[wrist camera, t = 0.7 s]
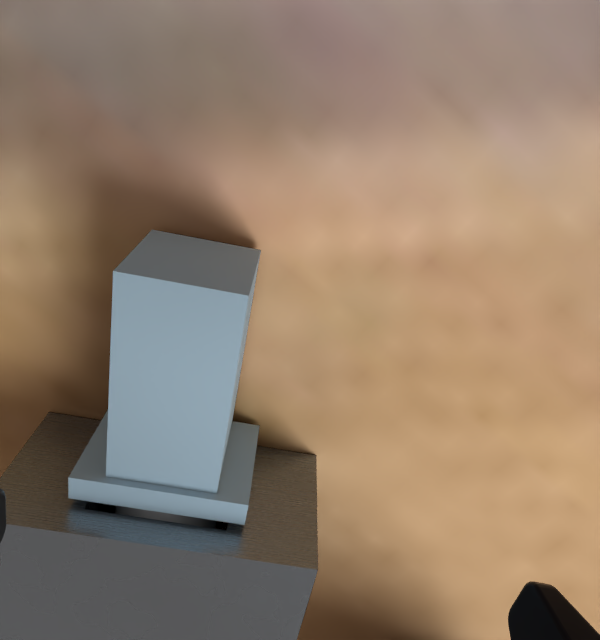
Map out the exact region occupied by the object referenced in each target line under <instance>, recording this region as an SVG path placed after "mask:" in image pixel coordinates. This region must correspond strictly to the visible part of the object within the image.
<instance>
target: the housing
mask: <svg viewBox="0 0 600 640" xmlns="http://www.w3.org/2000/svg"><path fill="white" fill-rule="evenodd" d="M100 422H101V420H95V419H88V418H82V417H76V416H70V415H64V414H58V413H51V412H49V413H48V414H47V416H46V417H45V418H44V420H43V421H42V422H41V424H40V425H39V426H38V428H37V429H36V430H35V432H34V433H33V434H32V436H31V437H30V439H29V440H28V441H27V443H26V444H25V445H24V447H23V448H22V449H21V451H20V452H19V453H18V455H17V456H16V457H15V459H14V460H13V461H12V463H11V464H10V465H9V467H8V468H7V469H6V471H5V472H4V473H3V475H2V476H1V478H0V489H3V491H4V492H5V496H6V530H5V533H4V536H3V539H2V541H1V543H0V640H297V637H298V634H299V630H300V627H301V624H302V621H303V617H304V614H305V611H306V607H307V604H308V601H309V597H310V594H311V591H312V588H313V584H314V581H315V578H316V574H317V571H318V545H317V481H316V455H310V454H304V453H298V452H292V451H286V450H279V449H273V448H267V447H261V446H257V448H256V455H255V462H254V469H253V476H252V484H251V491H250V498H249V505H248V510H247V515H246V520H245V525H241V524H235V523H228V525H227V530H220V529H214V528H207V527H200V526H194V525H187V524H181V523H174V522H167V521H161V520H154V519H147V518H141V517H134V516H127V515H121V514H115V507H116V505H109V504H103V503H96V502H90V501H83V500H76V499H70V498H68V477H69V475H70V474H71V472H72V470H73V469H74V467H75V465H76V463H77V462H78V460H79V458H80V457H81V455H82V453H83V451H84V450H85V448H86V446H87V444H88V443H89V441H90V439H91V438H92V436H93V434H94V432H95V431H96V429H97V427H98V426H99V424H100Z"/></svg>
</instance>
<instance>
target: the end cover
mask: <svg viewBox="0 0 600 640" xmlns="http://www.w3.org/2000/svg"><path fill="white" fill-rule="evenodd" d="M260 252H261V250H258V249H253V248H247V247H242V246H237V245H231V244H226V243H221V242H215V241H210V240H205V239H199V238H194V237H189V236H183V235H178V234H173V233H168V232H162V231H157V230H151V231H150V232H149V233H148V234H147V236H146V237H145V238H144V239H143V240H142V241H141V242H140V243H139V244H138V245H137V246H136V247H135V248H134V249H133V250H132V251H131V253H130V254H129V255H128V256H127V257H126V258H125V259H124V260H123V261H122V262H121V263H120V264H119V265H118V266H117V267H116V269H115V270H114V271H113V289H112V317H111V344H110V372H109V400H108V410H107V412H106V413H105V415H104V417H103V419H102V420H101V422H100V424H99V426H98V427H97V429H96V431H95V432H94V434H93V436H92V438H91V439H90V441H89V443H88V444H87V446H86V448H85V450H84V451H83V453H82V455H81V457H80V458H79V460H78V462H77V463H76V465H75V467H74V469H73V470H72V472H71V474H70V475H69V477H68V498H70V499H76V500H83V501H90V502H96V503H103V504H109V505H116V507H115V514H121V515H127V516H134V517H141V518H147V519H154V520H161V521H167V522H174V523H181V524H187V525H194V526H200V527H207V528H214V529H215V527H216V521H221V522H228V523H235V524H241V525H245V520H246V515H247V510H248V505H249V498H250V491H251V484H252V476H253V469H254V462H255V455H256V448H257V440H258V433H259V425H253V424H247V423H241V422H235V421H232V420H233V414H234V408H235V402H236V396H237V390H238V384H239V378H240V372H241V366H242V360H243V354H244V348H245V342H246V336H247V330H248V324H249V318H250V312H251V306H252V300H253V294H254V288H255V282H256V276H257V270H258V264H259V258H260Z"/></svg>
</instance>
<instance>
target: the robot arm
mask: <svg viewBox="0 0 600 640" xmlns="http://www.w3.org/2000/svg"><path fill="white" fill-rule="evenodd" d="M5 530H6V496H5V492H4V491H3V489H0V543H1V541H2V539H3V536H4V533H5ZM508 624H509V631H510V637H511V640H600V635H599V634H598V632H597V631H596V630H595V629H594V628H593V627H592V626H591V625H590V624H589V623H588V622H587V621H586V620H585V619H584V618H583V616H582V615H581V614H580V613H579V612H578V611H577V610H576V609H575V608H574V607H573V606H572V605H571V604H570V603H569V602H568V600H567V599H566V598H565V597H564V596H563V595H562V594H561V593H560V592H559V591H558V590H557V589H556V588H555V587H553V586H552V585H549V584H545V583H539V582H528V583H527V584H526V585H525V586H524V588H523V589H522V591H521V592H520V594H519V596H518V597H517V599H516V600H515V602H514V604H513V605H512V607H511V609H510V611H509V616H508Z"/></svg>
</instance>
